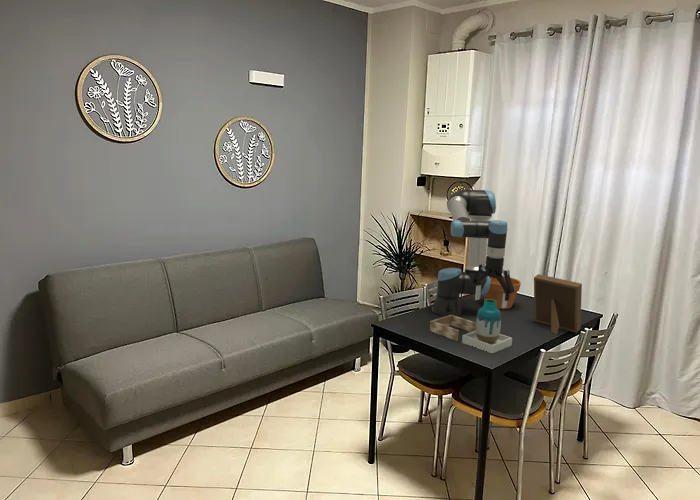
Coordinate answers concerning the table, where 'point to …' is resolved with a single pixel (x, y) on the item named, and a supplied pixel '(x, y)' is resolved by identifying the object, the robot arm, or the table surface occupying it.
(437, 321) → the wooden open crate
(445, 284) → the robot arm
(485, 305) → the vase
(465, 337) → the tray
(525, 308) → the table surface
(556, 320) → the photo frame
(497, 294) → the flower pot
